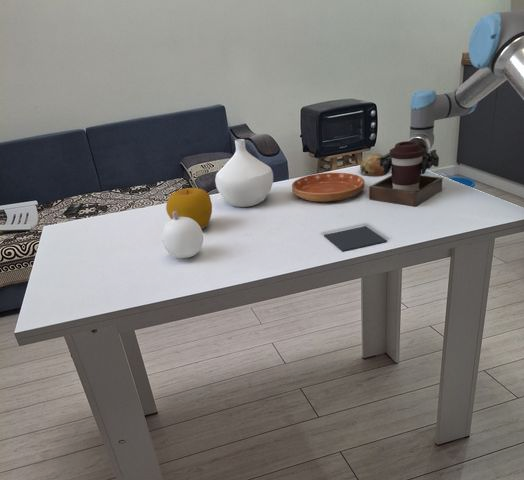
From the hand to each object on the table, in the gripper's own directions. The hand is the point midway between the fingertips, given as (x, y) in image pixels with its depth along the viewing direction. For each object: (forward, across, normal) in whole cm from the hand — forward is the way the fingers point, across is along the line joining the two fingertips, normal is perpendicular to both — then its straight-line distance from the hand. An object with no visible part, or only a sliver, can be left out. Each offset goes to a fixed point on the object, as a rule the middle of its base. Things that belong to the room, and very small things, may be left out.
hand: (404, 169), depth 154 cm
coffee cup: (-4, 0, -9) cm, 10 cm away
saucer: (-5, +24, -9) cm, 26 cm away
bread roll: (-29, +14, -9) cm, 33 cm away
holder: (-4, 0, -9) cm, 10 cm away
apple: (+30, +55, -9) cm, 63 cm away
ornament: (+49, +47, -9) cm, 68 cm away
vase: (+6, +48, -9) cm, 50 cm away
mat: (+32, +7, -9) cm, 34 cm away
